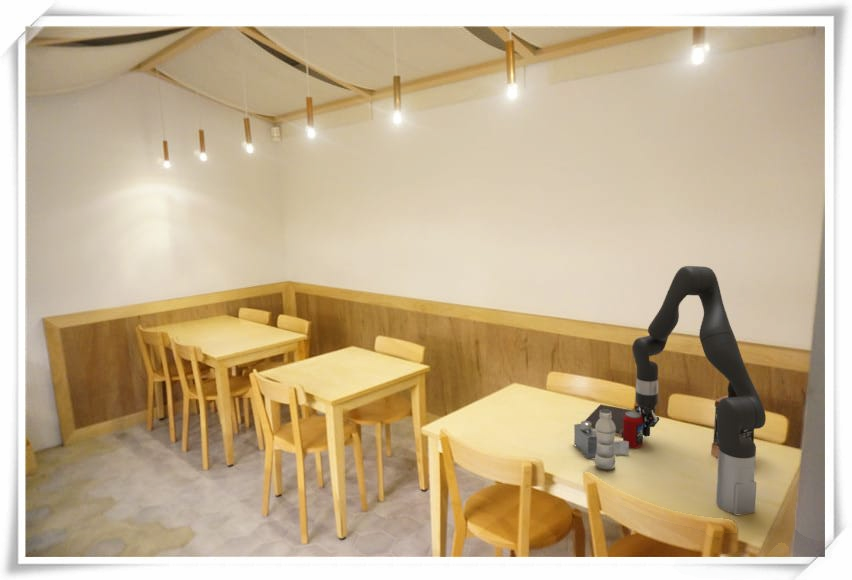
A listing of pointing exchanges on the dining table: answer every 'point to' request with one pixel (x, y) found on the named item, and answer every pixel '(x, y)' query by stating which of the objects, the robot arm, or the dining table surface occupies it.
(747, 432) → the whiskey bottle
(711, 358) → the robot arm
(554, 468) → the dining table surface
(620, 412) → the hardcover book
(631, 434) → the beverage can
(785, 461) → the dining table surface
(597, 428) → the plastic bottle
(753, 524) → the dining table surface
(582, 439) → the motor housing
